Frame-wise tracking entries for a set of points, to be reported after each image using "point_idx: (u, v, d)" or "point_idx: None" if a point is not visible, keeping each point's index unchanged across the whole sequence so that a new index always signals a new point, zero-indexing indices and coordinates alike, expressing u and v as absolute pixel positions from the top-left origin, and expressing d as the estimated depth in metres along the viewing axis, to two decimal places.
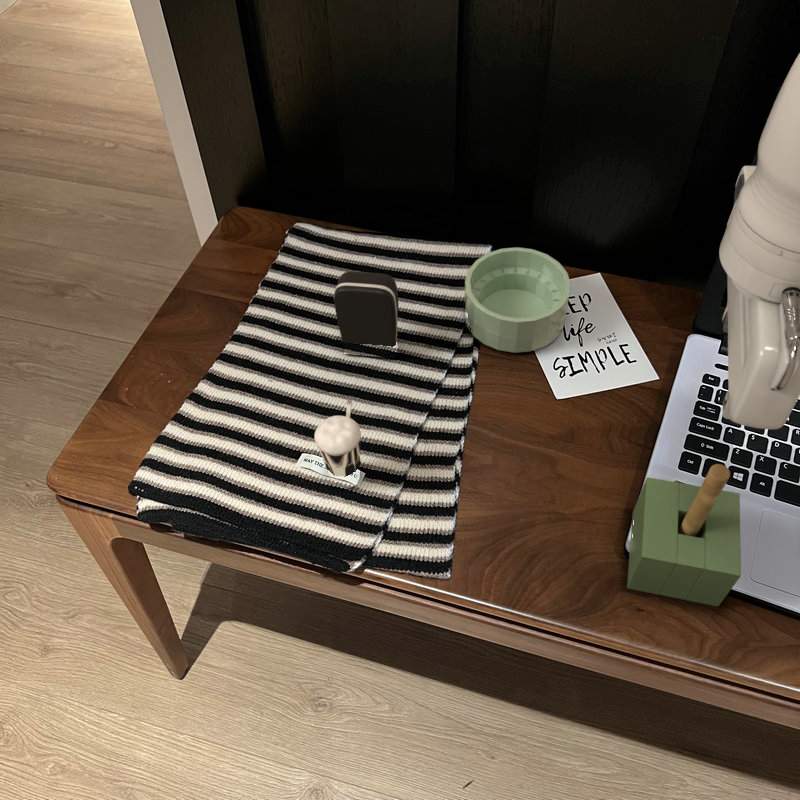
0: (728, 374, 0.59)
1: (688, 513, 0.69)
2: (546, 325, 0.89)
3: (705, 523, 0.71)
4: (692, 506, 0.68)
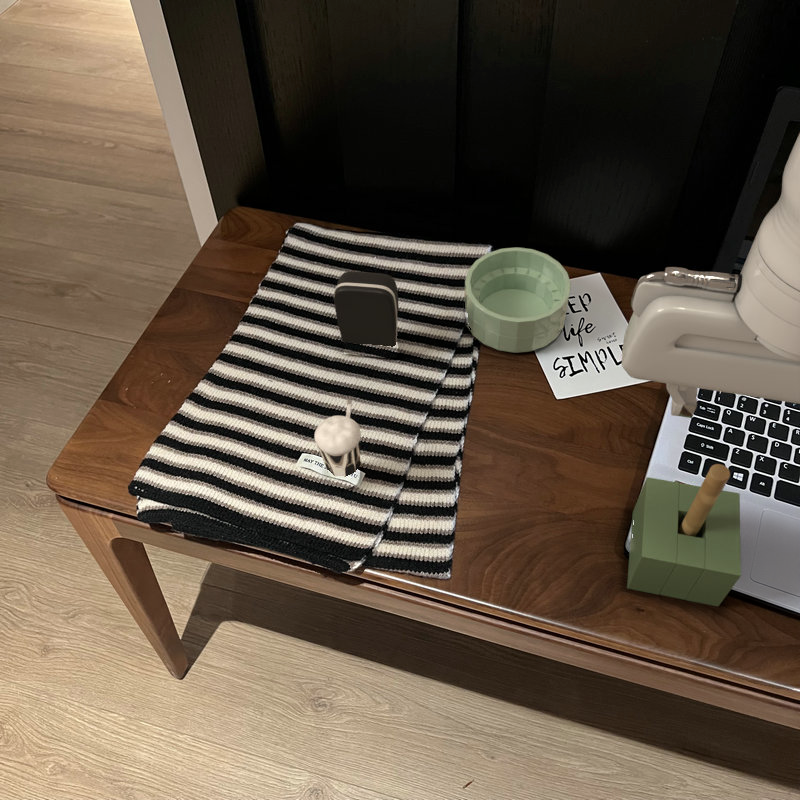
0: None
1: (688, 513, 0.69)
2: (546, 325, 0.89)
3: (705, 523, 0.71)
4: (692, 506, 0.68)
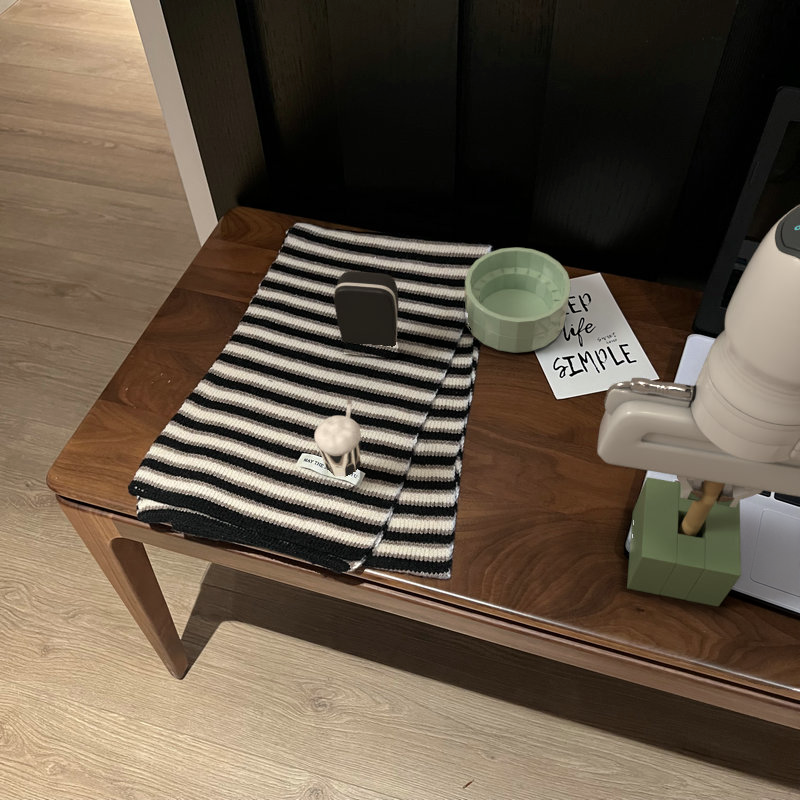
0: None
1: (688, 513, 0.69)
2: (546, 325, 0.89)
3: (705, 523, 0.71)
4: (692, 506, 0.68)
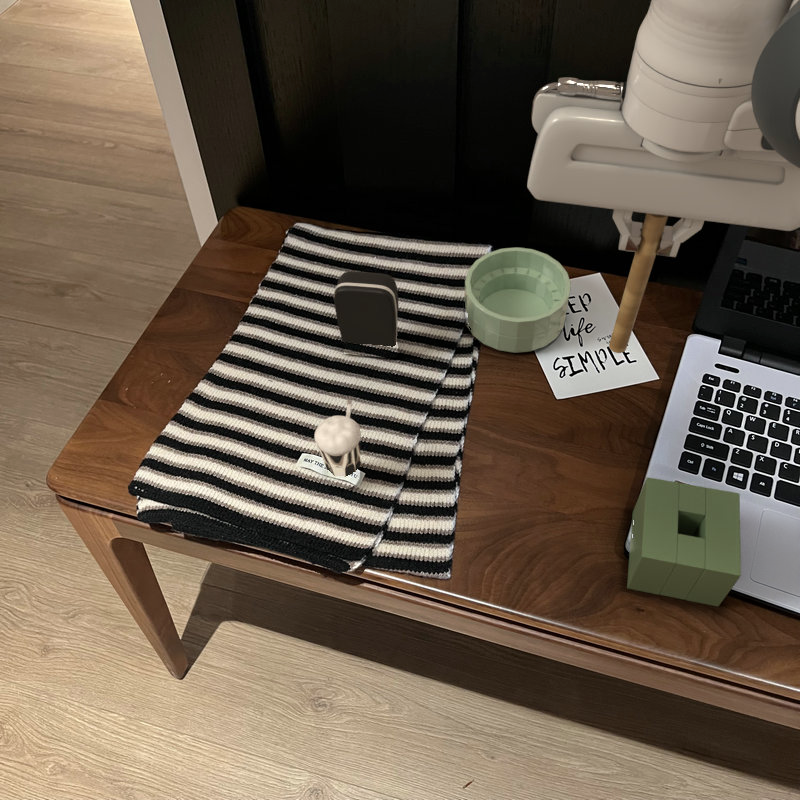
0: None
1: (628, 277, 0.65)
2: (546, 325, 0.89)
3: (705, 523, 0.71)
4: (632, 265, 0.64)
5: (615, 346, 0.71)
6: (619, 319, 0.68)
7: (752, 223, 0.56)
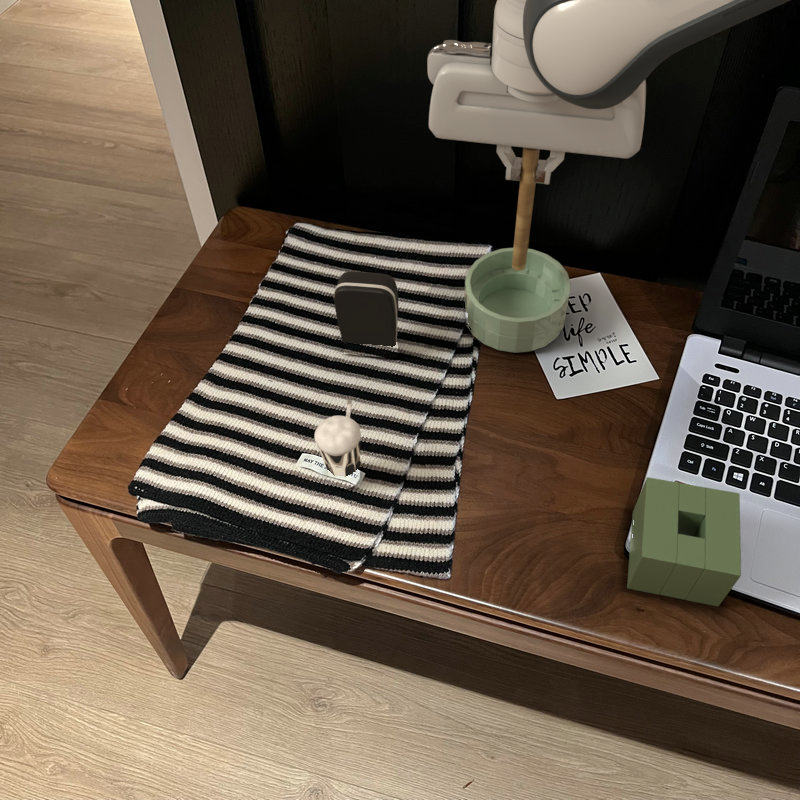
0: None
1: (518, 203, 0.82)
2: (546, 325, 0.89)
3: (705, 523, 0.71)
4: (519, 193, 0.81)
5: (516, 265, 0.88)
6: (515, 240, 0.85)
7: (598, 152, 0.73)
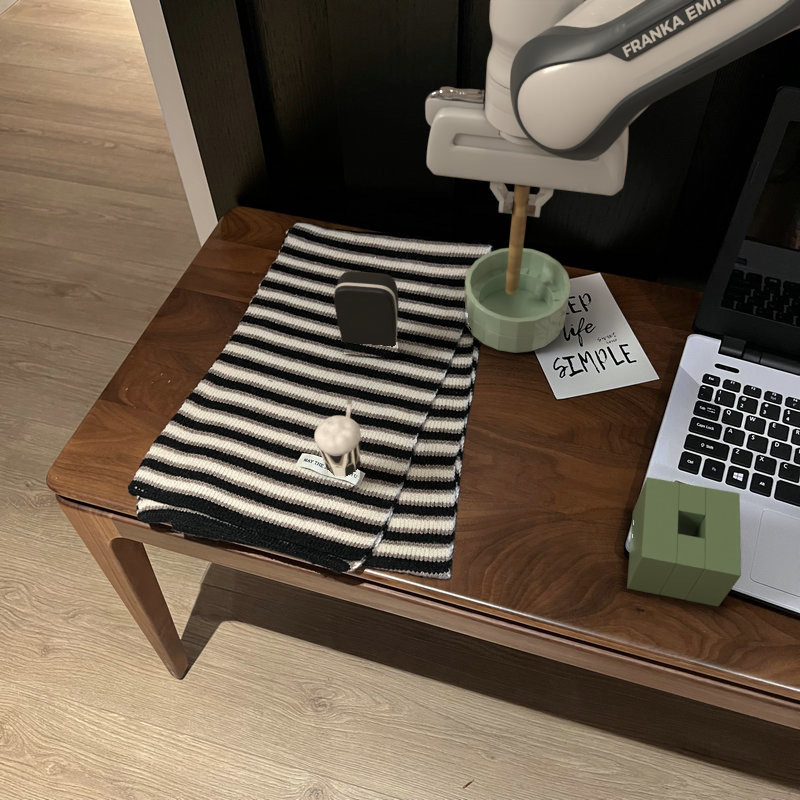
0: None
1: (510, 233, 0.87)
2: (546, 325, 0.89)
3: (705, 523, 0.71)
4: (511, 224, 0.86)
5: (509, 289, 0.93)
6: (508, 267, 0.91)
7: (584, 189, 0.78)
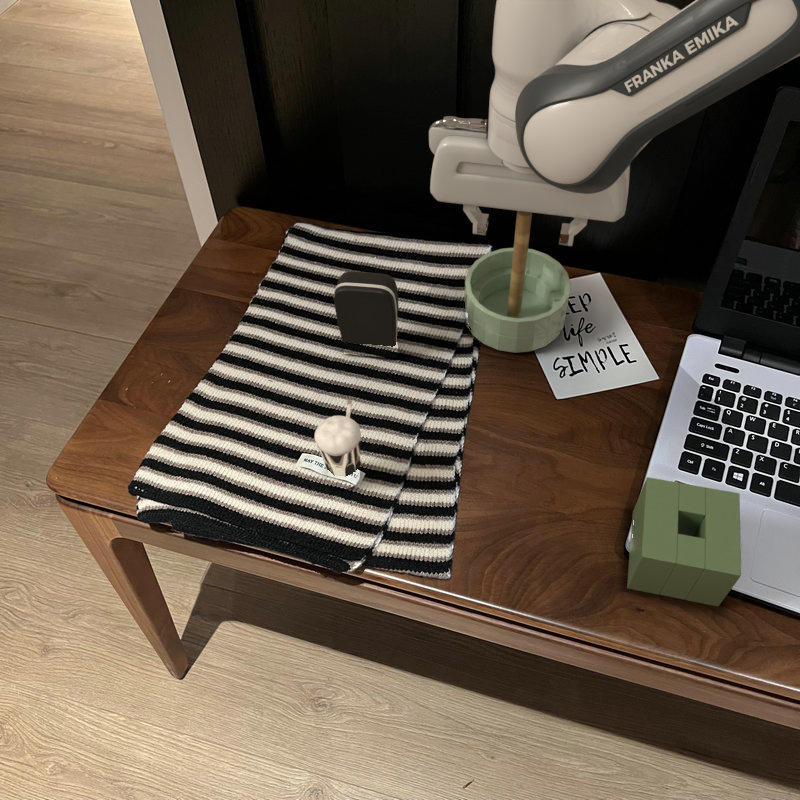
0: None
1: (512, 260, 0.88)
2: (546, 325, 0.89)
3: (705, 523, 0.71)
4: (513, 251, 0.87)
5: (511, 314, 0.94)
6: (510, 292, 0.92)
7: (587, 216, 0.79)
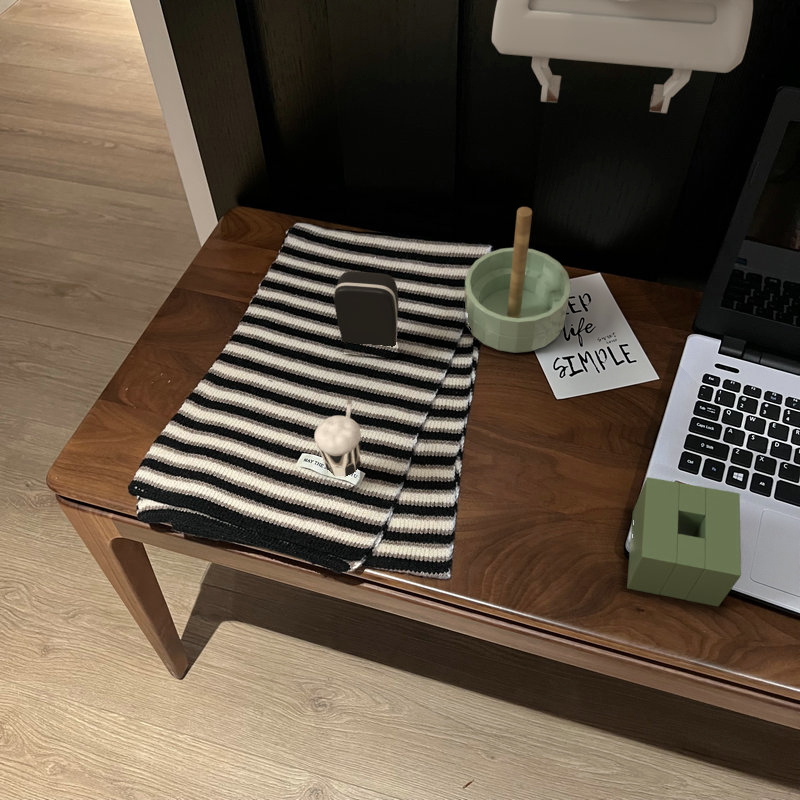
0: None
1: (512, 260, 0.88)
2: (546, 325, 0.89)
3: (705, 523, 0.71)
4: (513, 251, 0.87)
5: (511, 314, 0.94)
6: (510, 292, 0.92)
7: (692, 65, 0.63)
